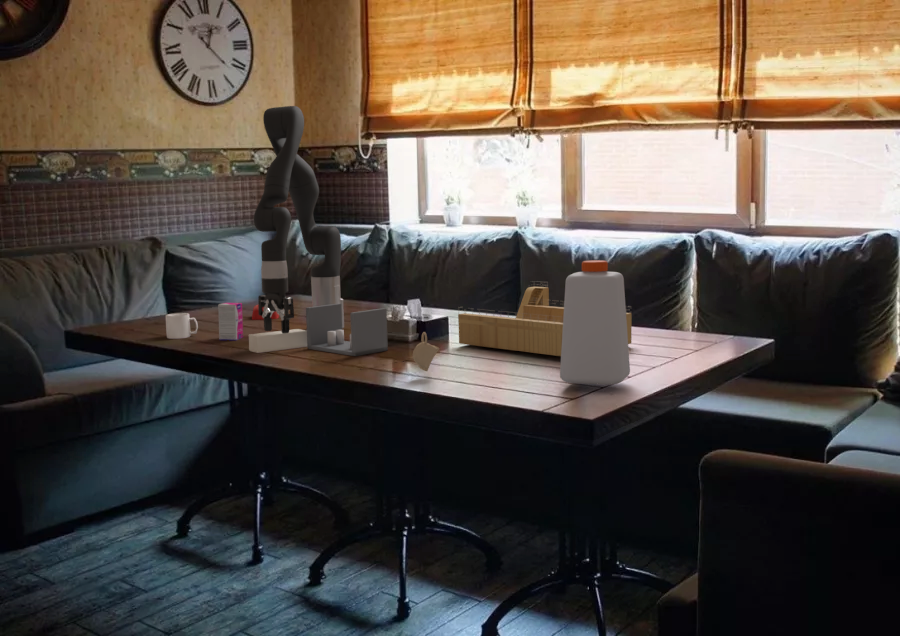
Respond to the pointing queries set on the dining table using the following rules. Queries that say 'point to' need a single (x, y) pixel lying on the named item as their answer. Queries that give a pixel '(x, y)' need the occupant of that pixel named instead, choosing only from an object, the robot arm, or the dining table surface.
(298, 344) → the cream rectangular block
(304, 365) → the dining table surface
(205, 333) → the dining table surface
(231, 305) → the supplement box
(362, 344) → the peg stand
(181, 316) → the mug
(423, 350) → the tan teacup
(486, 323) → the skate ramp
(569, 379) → the plastic bottle
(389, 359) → the dining table surface
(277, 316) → the butter dish
